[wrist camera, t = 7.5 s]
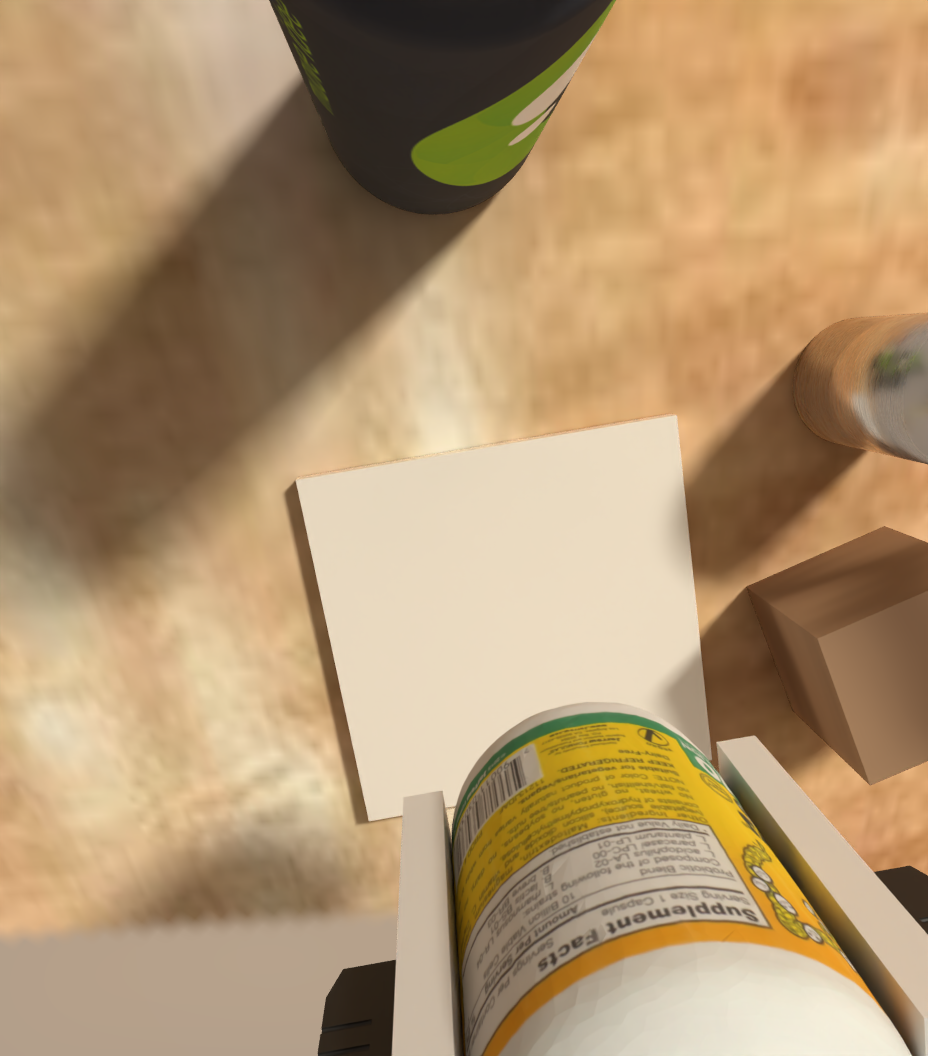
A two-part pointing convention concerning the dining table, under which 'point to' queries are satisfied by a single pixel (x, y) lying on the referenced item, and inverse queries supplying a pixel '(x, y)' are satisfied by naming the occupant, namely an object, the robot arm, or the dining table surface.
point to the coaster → (504, 596)
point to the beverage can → (437, 87)
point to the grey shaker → (868, 385)
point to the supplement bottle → (636, 906)
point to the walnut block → (855, 648)
